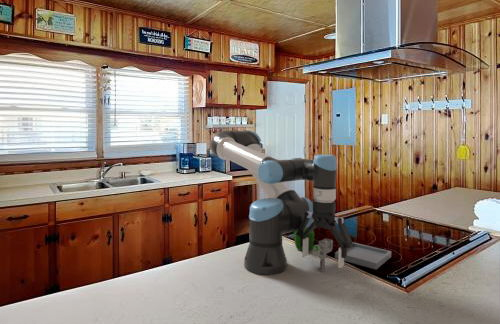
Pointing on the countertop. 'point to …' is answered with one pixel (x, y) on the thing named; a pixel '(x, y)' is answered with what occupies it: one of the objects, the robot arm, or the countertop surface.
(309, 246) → the bell pepper
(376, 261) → the tray
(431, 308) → the countertop surface
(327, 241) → the mechanical component
